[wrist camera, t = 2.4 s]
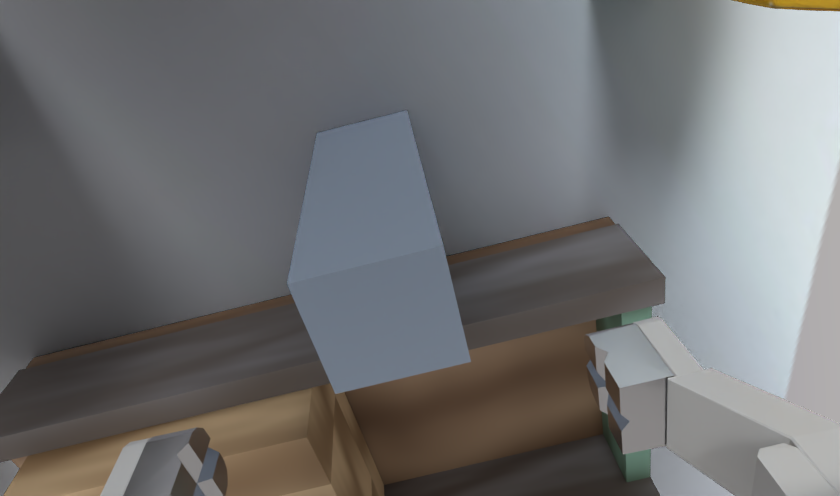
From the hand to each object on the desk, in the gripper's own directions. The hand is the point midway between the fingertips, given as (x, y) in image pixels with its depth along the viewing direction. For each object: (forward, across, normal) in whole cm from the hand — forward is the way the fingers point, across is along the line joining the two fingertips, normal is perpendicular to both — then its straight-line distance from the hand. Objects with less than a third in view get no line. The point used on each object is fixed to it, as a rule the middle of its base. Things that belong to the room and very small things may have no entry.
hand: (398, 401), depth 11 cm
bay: (+12, +4, +11) cm, 17 cm away
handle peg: (+12, 0, -1) cm, 12 cm away
